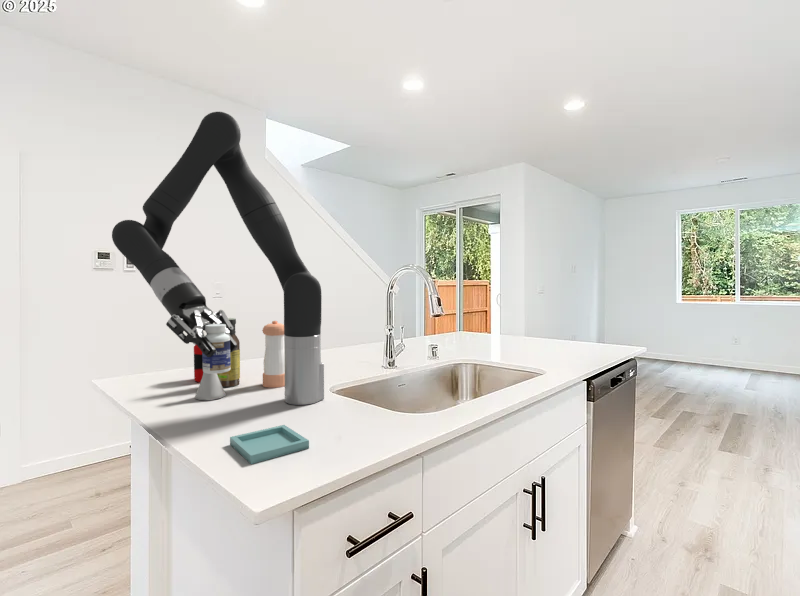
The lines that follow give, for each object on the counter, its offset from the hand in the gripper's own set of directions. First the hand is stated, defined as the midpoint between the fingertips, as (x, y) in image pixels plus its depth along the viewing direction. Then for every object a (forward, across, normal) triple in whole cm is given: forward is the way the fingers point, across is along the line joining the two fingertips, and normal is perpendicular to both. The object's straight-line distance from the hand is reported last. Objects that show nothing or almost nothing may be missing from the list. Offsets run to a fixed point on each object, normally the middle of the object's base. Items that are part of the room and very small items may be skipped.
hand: (223, 351), depth 89 cm
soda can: (-15, +33, +39) cm, 53 cm away
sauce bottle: (-7, +30, +31) cm, 44 cm away
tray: (+21, -3, +2) cm, 22 cm away
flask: (-4, +18, +28) cm, 34 cm away
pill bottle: (+2, 0, +4) cm, 5 cm away
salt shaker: (+2, +36, +22) cm, 42 cm away
